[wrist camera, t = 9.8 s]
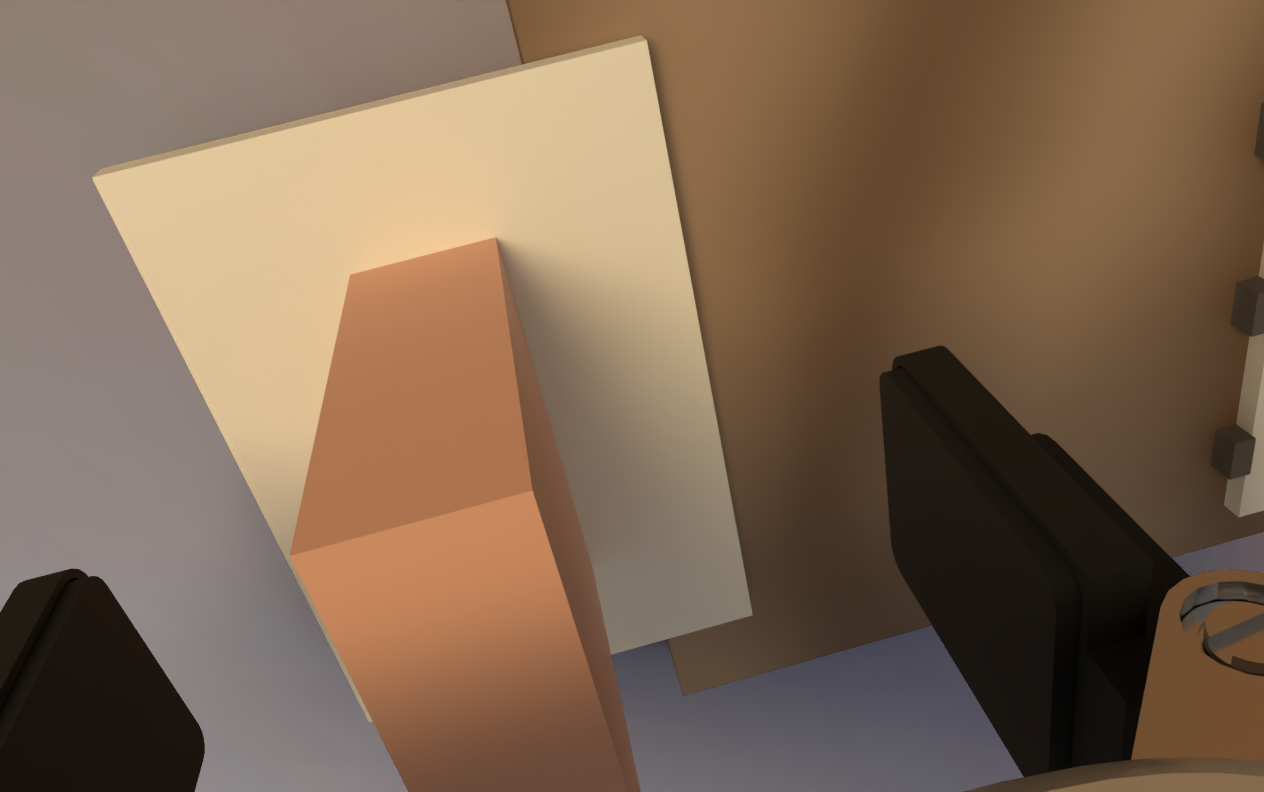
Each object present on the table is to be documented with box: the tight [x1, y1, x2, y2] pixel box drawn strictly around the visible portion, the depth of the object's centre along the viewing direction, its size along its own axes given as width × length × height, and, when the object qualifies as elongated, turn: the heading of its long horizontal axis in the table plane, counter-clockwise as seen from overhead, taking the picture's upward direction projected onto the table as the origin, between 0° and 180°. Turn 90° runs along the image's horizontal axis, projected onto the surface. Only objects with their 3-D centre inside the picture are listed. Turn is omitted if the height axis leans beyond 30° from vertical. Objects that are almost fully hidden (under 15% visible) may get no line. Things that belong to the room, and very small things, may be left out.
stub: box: [92, 35, 753, 792], centre depth 12 cm, size 7×10×6 cm
